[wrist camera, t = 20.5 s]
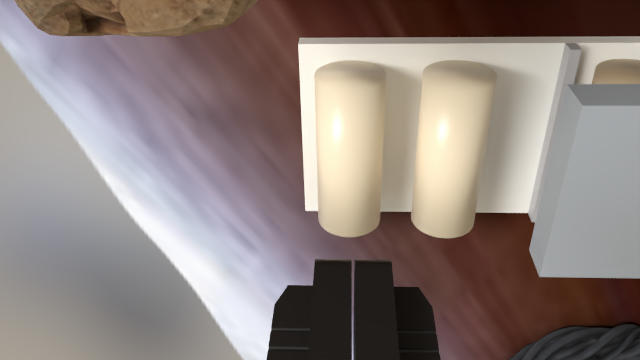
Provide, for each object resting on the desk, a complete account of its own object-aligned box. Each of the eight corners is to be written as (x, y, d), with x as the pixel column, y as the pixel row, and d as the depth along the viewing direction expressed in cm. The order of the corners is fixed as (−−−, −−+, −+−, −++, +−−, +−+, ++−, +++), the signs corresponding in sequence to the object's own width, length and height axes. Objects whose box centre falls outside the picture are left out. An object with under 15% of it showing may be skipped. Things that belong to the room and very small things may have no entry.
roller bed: (299, 37, 35) (290, 80, 30) (791, 35, 34) (867, 79, 29) (306, 202, 42) (300, 259, 37) (716, 205, 40) (768, 265, 35)
